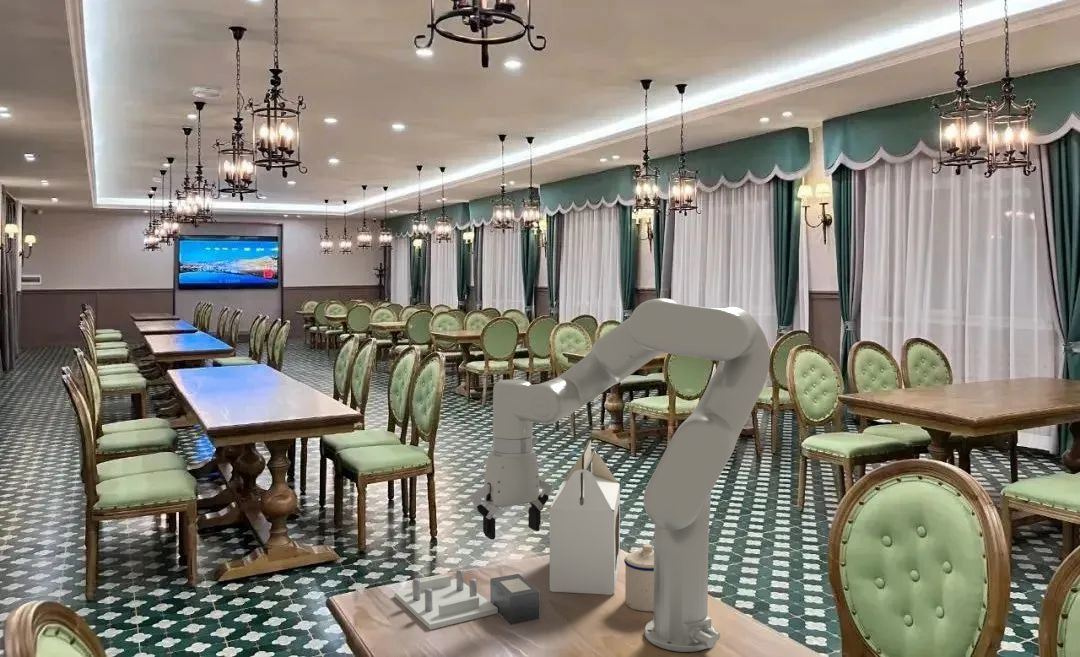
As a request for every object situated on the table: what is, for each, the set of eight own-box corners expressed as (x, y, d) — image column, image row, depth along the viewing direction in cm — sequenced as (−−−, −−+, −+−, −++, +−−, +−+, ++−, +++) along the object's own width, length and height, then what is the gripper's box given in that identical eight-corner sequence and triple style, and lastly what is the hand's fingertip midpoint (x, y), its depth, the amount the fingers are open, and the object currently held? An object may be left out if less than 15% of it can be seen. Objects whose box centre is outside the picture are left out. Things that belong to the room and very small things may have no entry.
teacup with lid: (674, 612, 153) (675, 553, 153) (627, 613, 153) (627, 553, 152) (662, 588, 165) (663, 533, 165) (619, 589, 165) (619, 533, 164)
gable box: (614, 596, 162) (614, 459, 160) (549, 592, 164) (549, 457, 162) (619, 558, 184) (620, 437, 182) (562, 555, 186) (562, 435, 184)
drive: (539, 620, 151) (539, 590, 150) (510, 625, 148) (509, 596, 148) (517, 599, 160) (517, 572, 160) (489, 604, 158) (489, 577, 157)
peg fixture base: (497, 613, 153) (497, 587, 153) (430, 629, 146) (429, 603, 146) (457, 582, 169) (457, 559, 169) (394, 596, 162) (394, 572, 161)
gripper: (541, 437, 160) (540, 521, 161) (462, 446, 151) (462, 535, 152) (561, 444, 153) (560, 531, 155) (480, 453, 144) (480, 546, 146)
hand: (512, 533), depth 153 cm, fingers open, 9 cm apart
